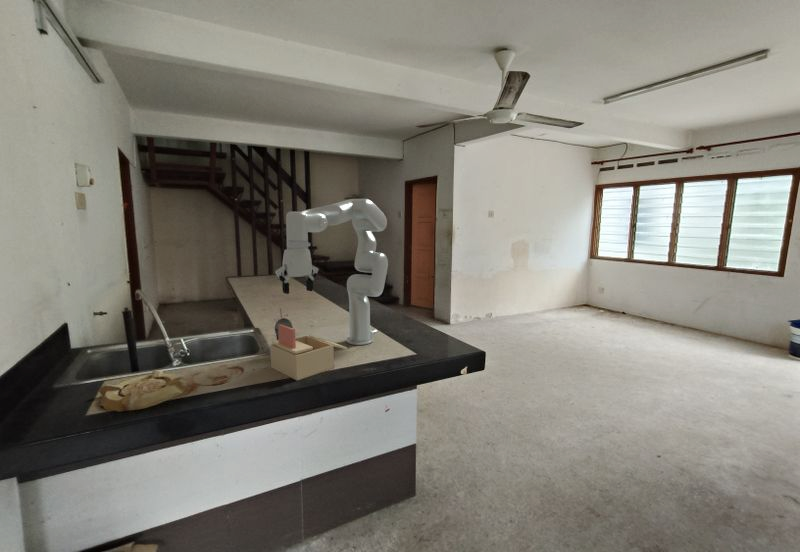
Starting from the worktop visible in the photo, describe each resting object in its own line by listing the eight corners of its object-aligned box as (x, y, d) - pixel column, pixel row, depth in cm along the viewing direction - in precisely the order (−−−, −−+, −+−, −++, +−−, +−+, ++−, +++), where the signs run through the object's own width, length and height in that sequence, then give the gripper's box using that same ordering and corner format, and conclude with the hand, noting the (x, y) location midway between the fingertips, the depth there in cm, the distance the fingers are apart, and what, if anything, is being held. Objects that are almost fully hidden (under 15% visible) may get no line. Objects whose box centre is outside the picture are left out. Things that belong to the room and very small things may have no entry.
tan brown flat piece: (185, 374, 137) (184, 361, 137) (189, 400, 117) (188, 384, 117) (103, 389, 125) (101, 375, 124) (92, 420, 105) (90, 403, 104)
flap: (288, 339, 147) (287, 320, 146) (312, 349, 136) (312, 328, 135) (271, 343, 142) (270, 323, 141) (295, 353, 131) (294, 332, 130)
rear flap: (347, 347, 148) (346, 349, 148) (322, 338, 159) (321, 340, 159) (333, 344, 143) (333, 346, 143) (308, 335, 154) (308, 337, 154)
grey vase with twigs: (288, 358, 153) (286, 310, 151) (272, 357, 155) (270, 309, 152) (296, 352, 160) (295, 306, 158) (281, 351, 162) (279, 305, 159)
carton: (307, 356, 155) (306, 335, 154) (333, 368, 143) (333, 345, 142) (271, 367, 143) (270, 344, 142) (297, 380, 131) (296, 355, 130)
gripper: (312, 245, 146) (312, 288, 148) (270, 245, 134) (271, 293, 136) (323, 245, 141) (323, 290, 143) (280, 246, 129) (281, 295, 131)
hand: (298, 292), depth 139 cm, fingers open, 9 cm apart
